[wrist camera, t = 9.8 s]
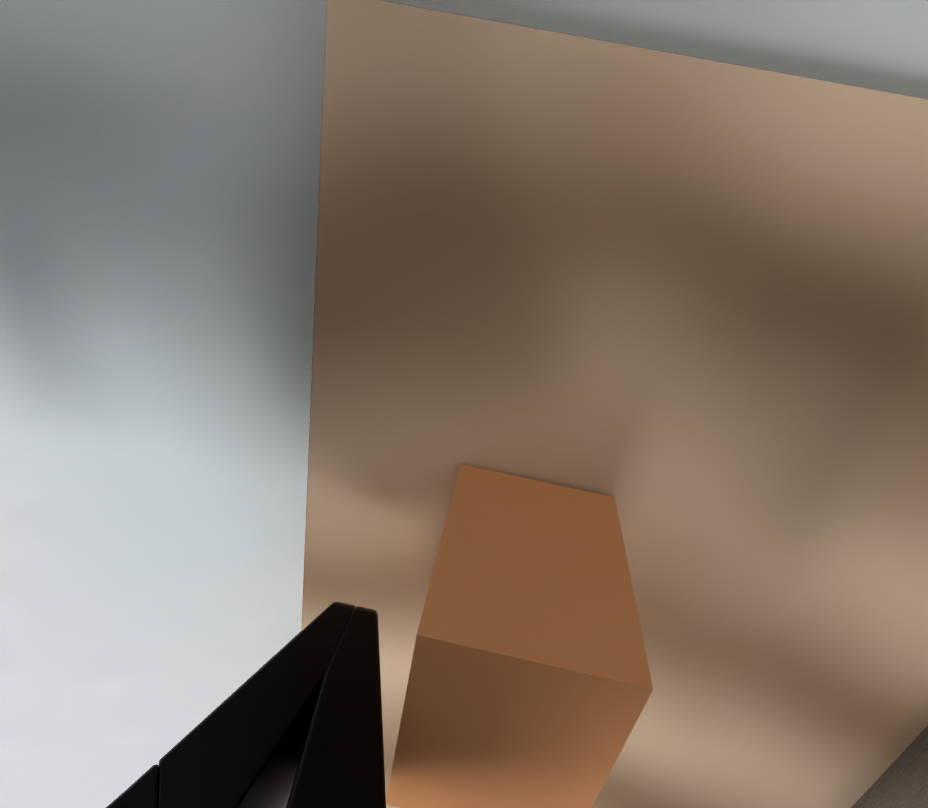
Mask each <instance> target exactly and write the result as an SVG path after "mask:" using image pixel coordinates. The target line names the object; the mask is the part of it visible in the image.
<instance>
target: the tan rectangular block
mask: <svg viewBox="0 0 928 808" xmlns="http://www.w3.org/2000/svg"><path fill="white" fill-rule="evenodd" d="M652 691H653V686H652V681H651V676H650V671H649V666H648V661H647V656H646V651H645V646H644V641H643V636H642V631H641V626H640V621H639V616H638V611H637V606H636V601H635V596H634V591H633V586H632V581H631V576H630V571H629V566H628V561H627V556H626V551H625V546H624V541H623V536H622V532H621V527H620V522H619V517H618V512H617V507H616V502H615V497H612V496H607V495H603V494H598V493H594V492H589V491H584V490H580V489H575V488H571V487H566V486H561V485H557V484H552V483H547V482H543V481H538V480H534V479H529V478H524V477H520V476H515V475H510V474H506V473H501V472H497V471H492V470H487V469H483V468H478V467H474V466H469V465H464V464H460V467H459V470H458V474H457V478H456V482H455V486H454V490H453V494H452V498H451V502H450V506H449V510H448V514H447V518H446V522H445V525H444V529H443V533H442V537H441V541H440V545H439V549H438V553H437V557H436V561H435V565H434V569H433V573H432V577H431V581H430V584H429V588H428V592H427V596H426V600H425V604H424V608H423V612H422V616H421V620H420V624H419V628H418V632H417V636H416V641H415V647H414V652H413V657H412V663H411V668H410V674H409V679H408V684H407V690H406V695H405V701H404V706H403V711H402V717H401V722H400V728H399V733H398V738H397V744H396V749H395V755H394V760H393V765H392V771H391V776H390V782H389V787H388V792H387V798H386V804H387V805H391V806H395V807H399V808H592V806H593V804H594V803H595V801H596V799H597V797H598V795H599V793H600V791H601V789H602V787H603V785H604V783H605V781H606V779H607V777H608V776H609V774H610V772H611V770H612V768H613V766H614V764H615V762H616V760H617V758H618V756H619V754H620V752H621V750H622V749H623V747H624V745H625V743H626V741H627V739H628V737H629V735H630V733H631V731H632V729H633V727H634V725H635V723H636V722H637V720H638V718H639V716H640V714H641V712H642V710H643V708H644V706H645V704H646V702H647V700H648V698H649V696H650V695H651V693H652Z"/></svg>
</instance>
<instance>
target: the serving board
mask: <svg viewBox="0 0 928 808" xmlns="http://www.w3.org/2000/svg"><path fill="white" fill-rule="evenodd" d="M460 464H464V465H469V466H474V467H478V468H483V469H487V470H492V471H497V472H501V473H506V474H510V475H515V476H520V477H524V478H529V479H534V480H538V481H543V482H547V483H552V484H557V485H561V486H566V487H571V488H575V489H580V490H584V491H589V492H594V493H598V494H603V495H607V496H612V497H615V502H616V507H617V512H618V517H619V522H620V527H621V532H622V536H623V541H624V546H625V551H626V556H627V561H628V566H629V571H630V576H631V581H632V586H633V591H634V596H635V601H636V606H637V611H638V616H639V621H640V626H641V631H642V636H643V641H644V646H645V651H646V656H647V661H648V666H649V671H650V676H651V681H652V686H653V691H652V693H651V695H650V696H649V698H648V700H647V702H646V704H645V706H644V708H643V710H642V712H641V714H640V716H639V718H638V720H637V722H636V723H635V725H634V727H633V729H632V731H631V733H630V735H629V737H628V739H627V741H626V743H625V745H624V747H623V749H622V750H621V752H620V754H619V756H618V758H617V760H616V762H615V764H614V766H613V768H612V770H611V772H610V774H609V776H608V777H607V779H606V781H605V783H604V785H603V787H602V789H601V791H600V793H599V795H598V797H597V799H596V801H595V803H594V804H593V806H592V808H851V807H852V806H853V805H854V804H855V803H856V802H857V801H858V800H859V799H860V797H861V796H862V795H863V794H864V793H865V792H866V791H867V790H868V789H869V788H870V787H871V786H872V785H873V784H874V782H875V781H876V780H877V779H878V778H879V777H880V776H881V775H882V774H883V773H884V772H885V771H886V770H887V769H888V768H889V766H890V765H891V764H892V763H893V762H894V761H895V760H896V759H897V758H898V757H899V756H900V755H901V754H902V753H903V751H904V750H905V749H906V748H907V747H908V746H909V745H910V744H911V743H912V742H913V741H914V740H915V739H916V738H917V736H918V735H919V734H920V733H921V732H922V731H923V730H924V729H925V728H926V727H927V726H928V99H923V98H917V97H911V96H906V95H900V94H895V93H889V92H884V91H878V90H873V89H867V88H862V87H856V86H851V85H845V84H840V83H834V82H829V81H823V80H818V79H812V78H807V77H801V76H796V75H790V74H784V73H779V72H773V71H768V70H762V69H757V68H751V67H746V66H740V65H735V64H729V63H724V62H718V61H713V60H707V59H702V58H696V57H691V56H685V55H680V54H674V53H669V52H663V51H657V50H652V49H646V48H641V47H635V46H630V45H624V44H619V43H613V42H608V41H602V40H597V39H591V38H586V37H580V36H575V35H569V34H564V33H558V32H553V31H547V30H541V29H536V28H530V27H525V26H519V25H514V24H508V23H503V22H497V21H492V20H486V19H481V18H475V17H470V16H464V15H459V14H453V13H448V12H442V11H437V10H431V9H426V8H420V7H414V6H409V5H403V4H398V3H392V2H387V1H381V0H327V9H326V34H325V59H324V84H323V108H322V133H321V158H320V183H319V208H318V233H317V258H316V283H315V307H314V332H313V357H312V382H311V407H310V432H309V457H308V482H307V506H306V531H305V556H304V581H303V606H302V630H303V629H304V628H305V627H306V626H307V625H309V624H310V623H311V622H312V621H313V620H314V619H315V618H316V617H317V616H318V615H320V614H321V613H322V612H323V611H324V610H325V609H326V608H327V607H328V606H329V605H331V604H332V603H333V602H343V603H347V604H352V605H354V606H356V607H357V606H360V607H365V608H369V609H374V610H376V611H377V613H378V628H379V651H380V674H381V698H382V721H383V744H384V768H385V791H386V798H387V792H388V787H389V782H390V776H391V771H392V765H393V760H394V755H395V749H396V744H397V738H398V733H399V728H400V722H401V717H402V711H403V706H404V701H405V695H406V690H407V684H408V679H409V674H410V668H411V663H412V657H413V652H414V647H415V641H416V636H417V632H418V628H419V624H420V620H421V616H422V612H423V608H424V604H425V600H426V596H427V592H428V588H429V584H430V581H431V577H432V573H433V569H434V565H435V561H436V557H437V553H438V549H439V545H440V541H441V537H442V533H443V529H444V525H445V522H446V518H447V514H448V510H449V506H450V502H451V498H452V494H453V490H454V486H455V482H456V478H457V474H458V470H459V467H460ZM386 808H399V807H395V806H391V805H387V804H386Z"/></svg>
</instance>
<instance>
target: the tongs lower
mask: <svg viewBox="0 0 928 808" xmlns="http://www.w3.org/2000/svg"><path fill="white" fill-rule="evenodd" d="M851 808H928V726H927V727H926V728H925V729H924V730H923V731H922V732H921V733H920V734H919V735H918V736H917V738H916V739H915V740H914V741H913V742H912V743H911V744H910V745H909V746H908V747H907V748H906V749H905V750H904V751H903V753H902V754H901V755H900V756H899V757H898V758H897V759H896V760H895V761H894V762H893V763H892V764H891V765H890V766H889V768H888V769H887V770H886V771H885V772H884V773H883V774H882V775H881V776H880V777H879V778H878V779H877V780H876V781H875V782H874V784H873V785H872V786H871V787H870V788H869V789H868V790H867V791H866V792H865V793H864V794H863V795H862V796H861V797H860V799H859V800H858V801H857V802H856V803H855V804H854V805H853V806H852V807H851Z"/></svg>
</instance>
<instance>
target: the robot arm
mask: <svg viewBox="0 0 928 808" xmlns="http://www.w3.org/2000/svg"><path fill="white" fill-rule="evenodd" d="M106 808H386V791H385V768H384V744H383V721H382V698H381V674H380V651H379V628H378V613H377V611H376V610H374V609H369V608H365V607H360V606H357V607H356V606H354V605H352V604H347V603H343V602H333V603H332V604H331V605H329V606H328V607H327V608H326V609H325V610H324V611H323V612H322V613H321V614H320V615H318V616H317V617H316V618H315V619H314V620H313V621H312V622H311V623H310V624H309V625H307V626H306V627H305V628H304V629H303V630H302V631H301V632H300V633H299V634H298V635H296V636H295V637H294V638H293V639H292V640H291V641H290V642H289V643H288V644H287V645H285V646H284V647H283V648H282V649H281V650H280V651H279V652H278V653H277V654H276V655H274V656H273V657H272V658H271V659H270V660H269V661H268V662H267V663H266V664H265V665H263V666H262V667H261V668H260V669H259V670H258V671H257V672H256V673H255V674H254V675H252V676H251V677H250V678H249V679H248V680H247V681H246V682H245V683H244V684H243V685H242V686H240V687H239V688H238V689H237V690H236V691H235V692H234V693H233V694H232V695H231V696H229V697H228V698H227V699H226V700H225V701H224V702H223V703H222V704H221V705H220V706H218V707H217V708H216V709H215V710H214V711H213V712H212V713H211V714H210V715H209V716H207V717H206V718H205V719H204V720H203V721H202V722H201V723H200V724H199V725H198V726H196V727H195V728H194V729H193V730H192V731H191V732H190V733H189V734H188V735H187V736H185V737H184V738H183V739H182V740H181V741H180V742H179V743H178V744H177V745H176V746H174V747H173V748H172V749H171V750H170V751H169V752H168V753H167V754H166V755H165V756H163V757H162V758H161V759H160V761H159V766H158V765H157V764H156V765H153V766H152V767H151V768H150V769H149V770H148V771H147V772H146V773H144V774H143V775H142V776H141V777H140V778H139V779H138V780H137V781H136V782H135V783H134V784H132V785H131V786H130V787H129V788H128V789H127V790H126V791H125V792H123V793H122V794H121V795H120V796H119V797H118V798H117V799H115V800H114V801H113V802H112V803H111V804H110V805H109V806H107V807H106Z"/></svg>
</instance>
